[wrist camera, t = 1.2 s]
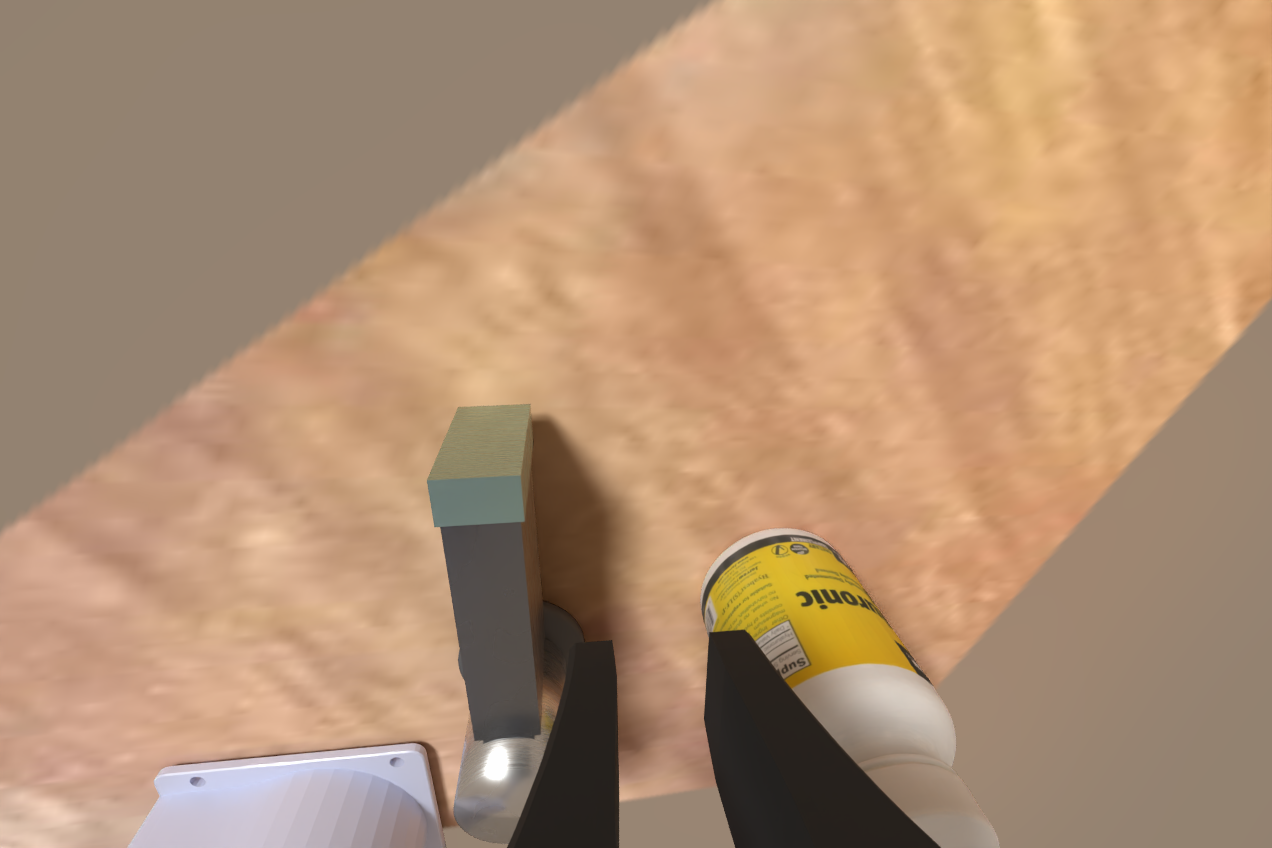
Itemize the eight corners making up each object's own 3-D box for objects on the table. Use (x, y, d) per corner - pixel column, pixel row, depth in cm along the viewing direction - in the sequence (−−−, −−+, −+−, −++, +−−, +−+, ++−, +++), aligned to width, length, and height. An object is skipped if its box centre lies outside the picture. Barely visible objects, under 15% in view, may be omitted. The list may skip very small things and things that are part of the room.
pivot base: (468, 697, 22) (466, 711, 22) (453, 603, 21) (450, 615, 20) (587, 687, 23) (587, 700, 22) (582, 594, 21) (582, 606, 20)
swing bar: (567, 694, 22) (568, 837, 17) (482, 702, 21) (460, 848, 17) (548, 403, 17) (542, 492, 13) (440, 407, 17) (393, 501, 12)
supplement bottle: (872, 567, 22) (1082, 845, 13) (773, 662, 23) (901, 972, 14) (767, 494, 20) (927, 759, 11) (666, 602, 22) (738, 913, 13)
